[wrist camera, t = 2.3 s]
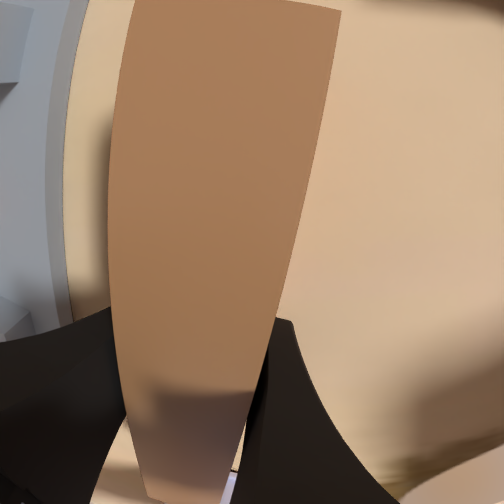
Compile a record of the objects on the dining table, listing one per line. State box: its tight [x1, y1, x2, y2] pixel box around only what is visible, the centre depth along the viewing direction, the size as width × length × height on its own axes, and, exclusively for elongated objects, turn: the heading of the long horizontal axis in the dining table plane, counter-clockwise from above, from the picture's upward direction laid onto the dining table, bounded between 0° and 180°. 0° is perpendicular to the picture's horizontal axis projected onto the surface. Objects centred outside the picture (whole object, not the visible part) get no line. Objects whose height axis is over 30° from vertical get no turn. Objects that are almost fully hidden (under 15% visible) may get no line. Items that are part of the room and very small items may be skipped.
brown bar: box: [108, 0, 341, 504], centre depth 9 cm, size 16×3×5 cm, turn 170°
